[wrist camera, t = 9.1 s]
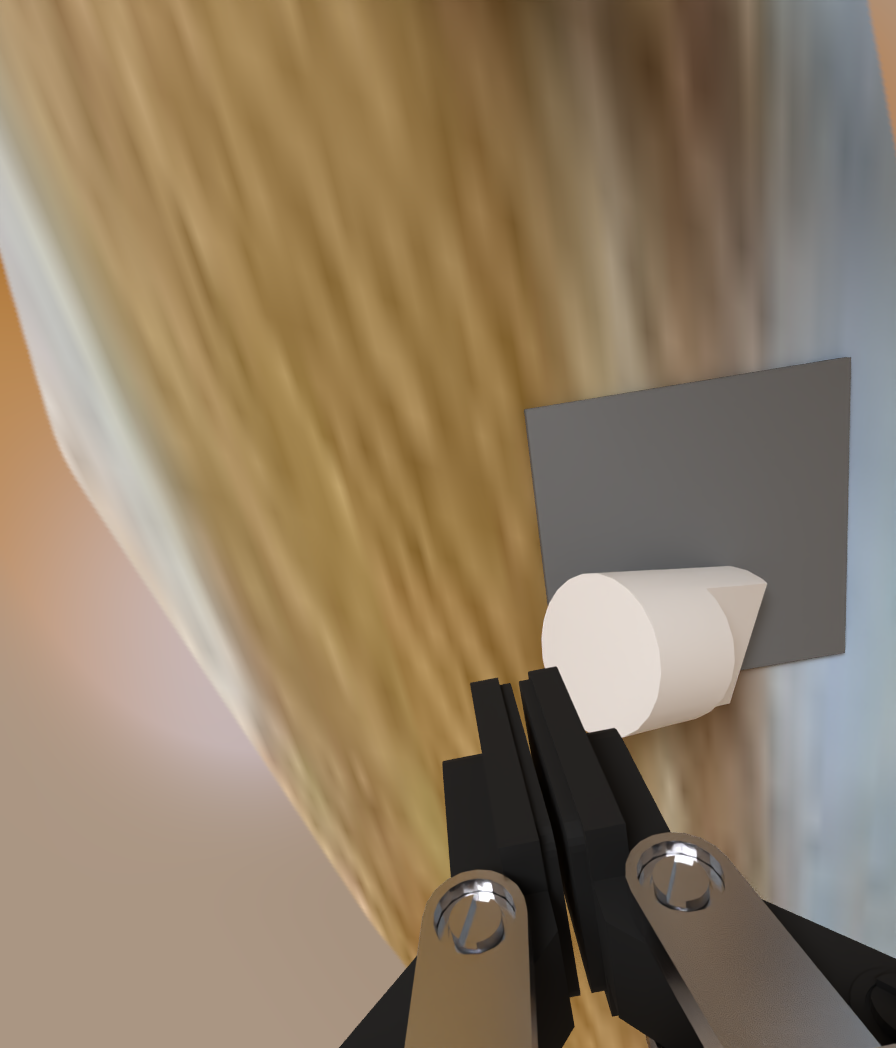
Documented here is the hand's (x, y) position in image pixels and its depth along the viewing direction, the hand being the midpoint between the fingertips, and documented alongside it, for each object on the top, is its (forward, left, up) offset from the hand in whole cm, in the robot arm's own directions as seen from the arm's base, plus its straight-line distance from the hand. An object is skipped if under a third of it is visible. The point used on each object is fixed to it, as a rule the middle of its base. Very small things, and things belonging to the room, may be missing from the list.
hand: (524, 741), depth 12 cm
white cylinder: (+10, +6, -21) cm, 24 cm away
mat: (+7, +15, -28) cm, 33 cm away
